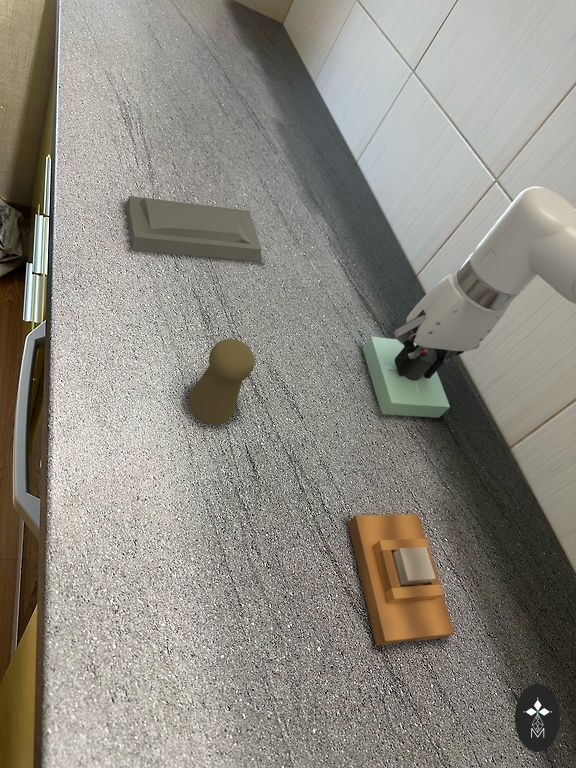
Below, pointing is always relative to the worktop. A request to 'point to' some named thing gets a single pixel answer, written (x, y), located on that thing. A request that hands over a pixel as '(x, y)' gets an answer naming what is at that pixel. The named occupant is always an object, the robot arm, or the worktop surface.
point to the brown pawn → (221, 382)
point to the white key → (413, 566)
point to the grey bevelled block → (191, 229)
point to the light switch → (397, 581)
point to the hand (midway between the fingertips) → (412, 368)
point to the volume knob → (422, 364)
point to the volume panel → (401, 383)
